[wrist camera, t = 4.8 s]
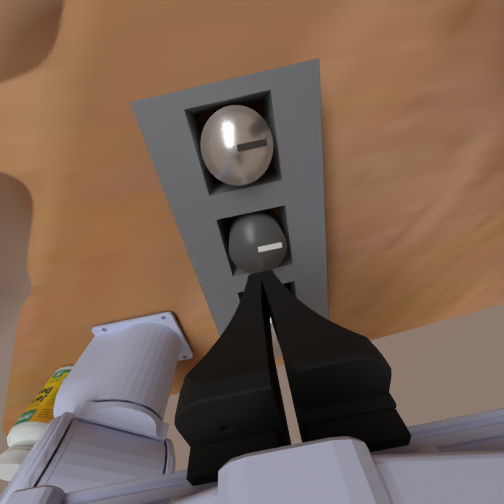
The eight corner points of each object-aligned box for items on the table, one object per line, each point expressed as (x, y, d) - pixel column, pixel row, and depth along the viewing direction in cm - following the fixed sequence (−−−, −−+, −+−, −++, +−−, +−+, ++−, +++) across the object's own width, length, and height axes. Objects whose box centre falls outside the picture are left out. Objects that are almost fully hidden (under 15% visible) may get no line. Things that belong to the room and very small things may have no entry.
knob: (216, 179, 18) (212, 192, 14) (200, 119, 16) (189, 114, 12) (268, 168, 18) (278, 178, 14) (259, 106, 16) (267, 96, 12)
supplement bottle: (89, 392, 31) (34, 489, 23) (48, 379, 29) (-28, 478, 21) (107, 373, 29) (56, 469, 21) (65, 358, 28) (-10, 456, 19)
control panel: (224, 315, 26) (223, 344, 23) (152, 109, 16) (129, 102, 13) (315, 297, 26) (328, 323, 22) (300, 75, 16) (319, 58, 12)
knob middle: (235, 252, 21) (236, 279, 17) (224, 210, 19) (222, 229, 15) (280, 243, 21) (290, 268, 17) (273, 199, 19) (283, 216, 15)
